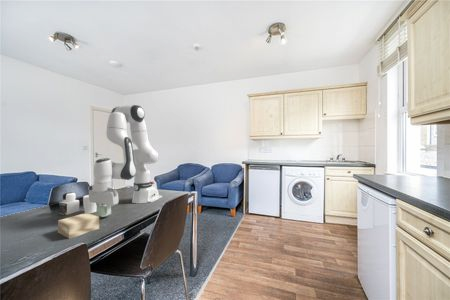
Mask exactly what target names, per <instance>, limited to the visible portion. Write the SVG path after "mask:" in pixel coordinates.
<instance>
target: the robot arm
mask: <svg viewBox="0 0 450 300" xmlns="http://www.w3.org/2000/svg"><path fill="white" fill-rule="evenodd" d="M145 114H146V113H145V110H144V108H142V106H141V105H135V104H133V105H132V104H131V105H122V106H115V107H113V108H112V110H111V112H110V114H109V115H108V120H107V123H106V132H105V133H106V138H107V140H109V141H110V142H111V143H113V144H115V145H117V146H119V147H120V148H121V149H122V153H123V161H124V162H121V163H118V162H114V161H112V160H111V158H108V157H106V158H99V159H96V160H95V161H94V166H93V177H94V181H93V184H91V185H90V186H88V188H87V190H88V195H89V201H90V202H94V203H96V205H97V207H98V206H101V205H105V204H106V206H107V208H106V209H105V212H110V208H111V209H112V207H113V206H116V205H118V204H119V193H118V191H117V190H116V188H115V187H113V180H127V181H129V180H132V179H133V178H134V179H133V195H132V200H131V203H132V204H148V203H154V202H156V201H157V200H159V199H161V198H163V195H161V194H159V193H160V192H159V190H158V189H157V188H156V187H154V186H153V185H155V181H151V171H150V170H149V169H148V168H147V166H146V165H151V164H155V163H157V162H158V159H159V153H158V151H157V150H155V149H154V148H153V146H152V145H151V143H150V140H149V135H148V130H147V123H146V120H145ZM128 123H129V129H130V130H129V131H130V135H131V136H130V137H131V138H130V137H129V135H128ZM133 144H134V145H135V146H136V147H137V148H135V149H133Z"/></svg>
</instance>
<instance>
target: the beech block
mask: <svg viewBox="0 0 450 300" xmlns="http://www.w3.org/2000/svg"><path fill="white" fill-rule="evenodd" d="M99 229H100V216H97V215H95V214H93V213H80V214H77V215H74V216H69V217H65V218H63V219H59V220H57V233H59V234H61V235H62V236H63V237H65V238H67V239H69V240H70V239H73V238H76V237H79V236H81V235H84V234H87V233H90V232H92V231H96V230H99Z"/></svg>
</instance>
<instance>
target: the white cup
mask: <svg viewBox="0 0 450 300" xmlns="http://www.w3.org/2000/svg"><path fill="white" fill-rule="evenodd" d="M82 201H83V202H82V203H83V210H84V213H90V214H93V213H96V207H97V205H96V203H94V202H90V201H89V194H86V195H84V196H82ZM84 213H83V214H84Z"/></svg>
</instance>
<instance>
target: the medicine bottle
mask: <svg viewBox="0 0 450 300" xmlns="http://www.w3.org/2000/svg"><path fill="white" fill-rule="evenodd" d="M76 198H77V196H76V192H65V193H63V195H62V201H59V202H58V214H60V215H64V214H65V216H68V215H71V214H75V213H77V212H80V199H76Z"/></svg>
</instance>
